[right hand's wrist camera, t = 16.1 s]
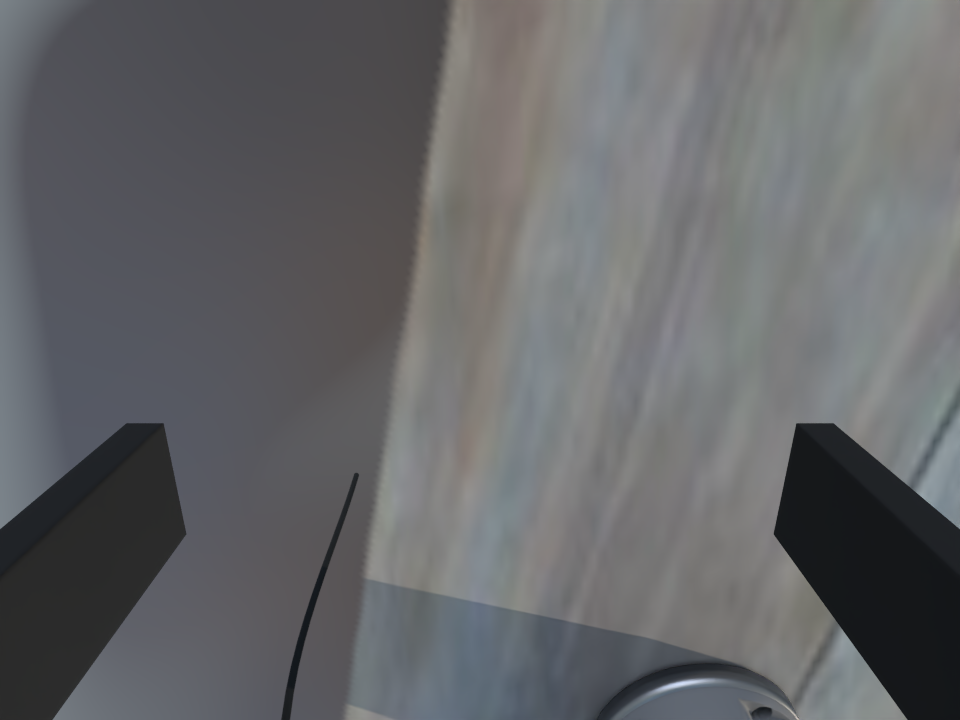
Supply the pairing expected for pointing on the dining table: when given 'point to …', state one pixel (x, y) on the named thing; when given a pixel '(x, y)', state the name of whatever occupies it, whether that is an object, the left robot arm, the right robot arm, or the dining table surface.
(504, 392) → the dining table surface
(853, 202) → the dining table surface
